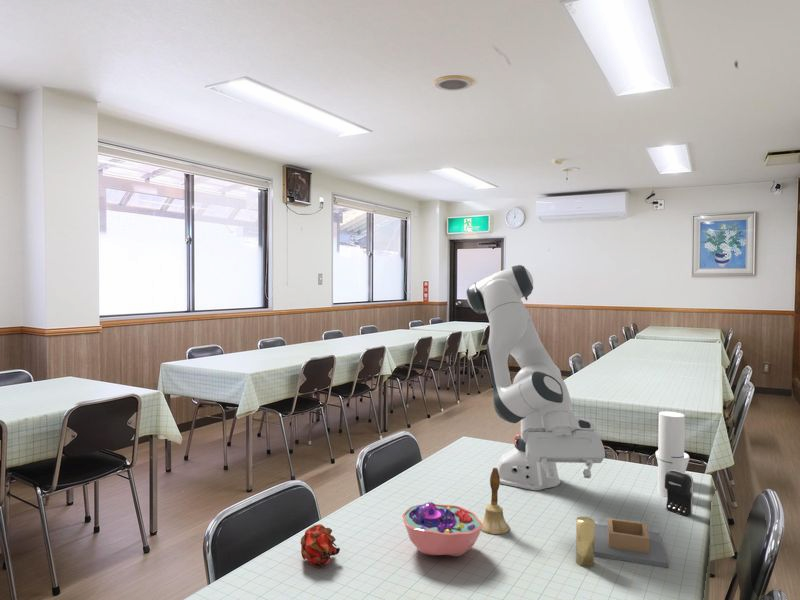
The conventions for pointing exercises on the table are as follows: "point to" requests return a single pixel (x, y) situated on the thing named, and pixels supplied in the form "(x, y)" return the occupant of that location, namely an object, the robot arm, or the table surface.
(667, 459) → the cylindrical container
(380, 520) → the table surface
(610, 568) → the table surface
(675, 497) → the battery charger
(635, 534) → the plate
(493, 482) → the hand bell
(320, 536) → the dragon fruit
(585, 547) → the brass tube
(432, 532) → the cell model
